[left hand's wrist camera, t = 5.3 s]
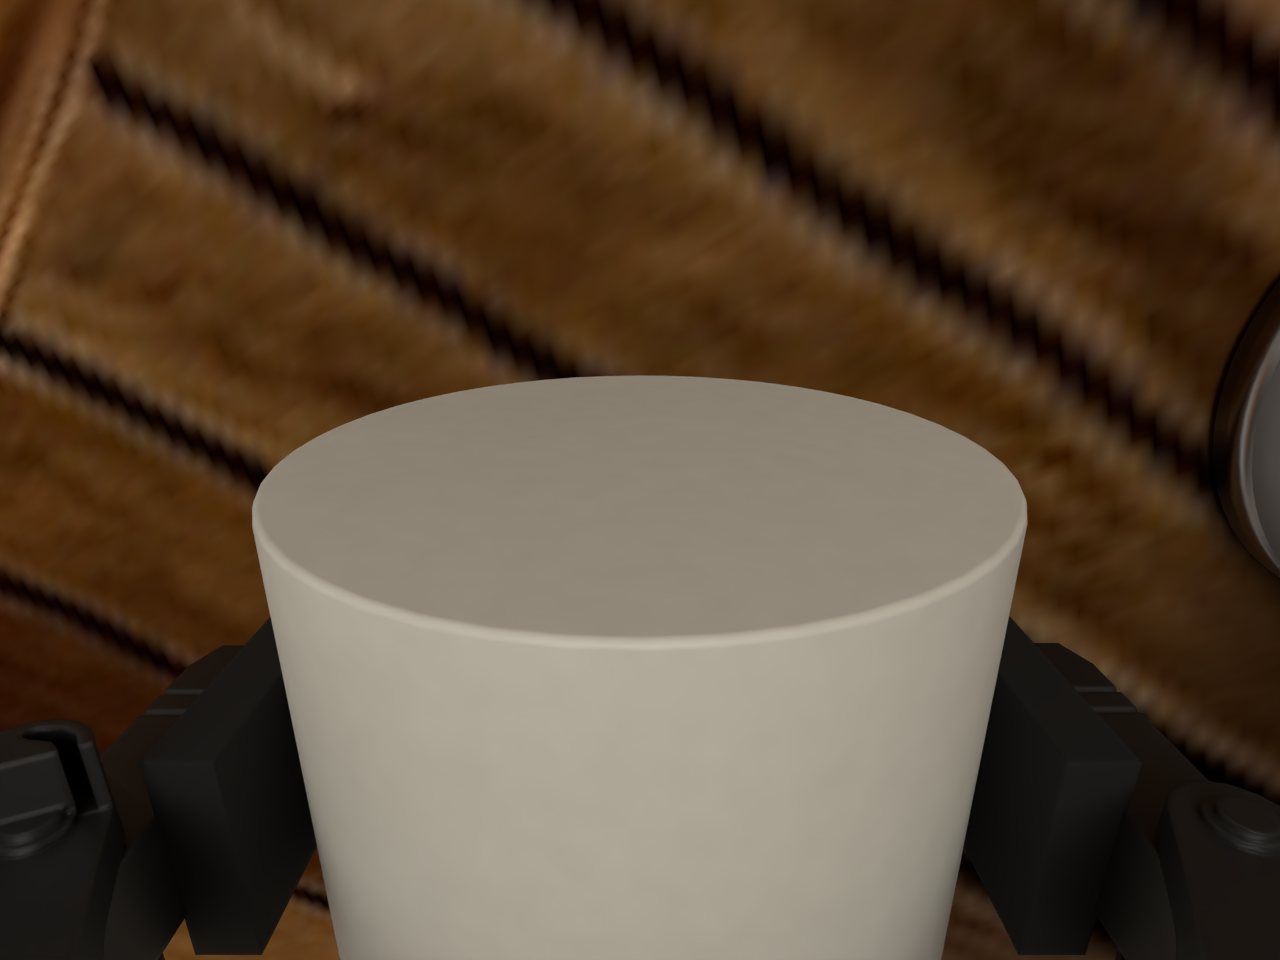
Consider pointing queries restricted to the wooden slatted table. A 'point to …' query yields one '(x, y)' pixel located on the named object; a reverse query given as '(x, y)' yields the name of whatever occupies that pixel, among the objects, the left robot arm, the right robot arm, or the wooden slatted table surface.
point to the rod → (640, 668)
